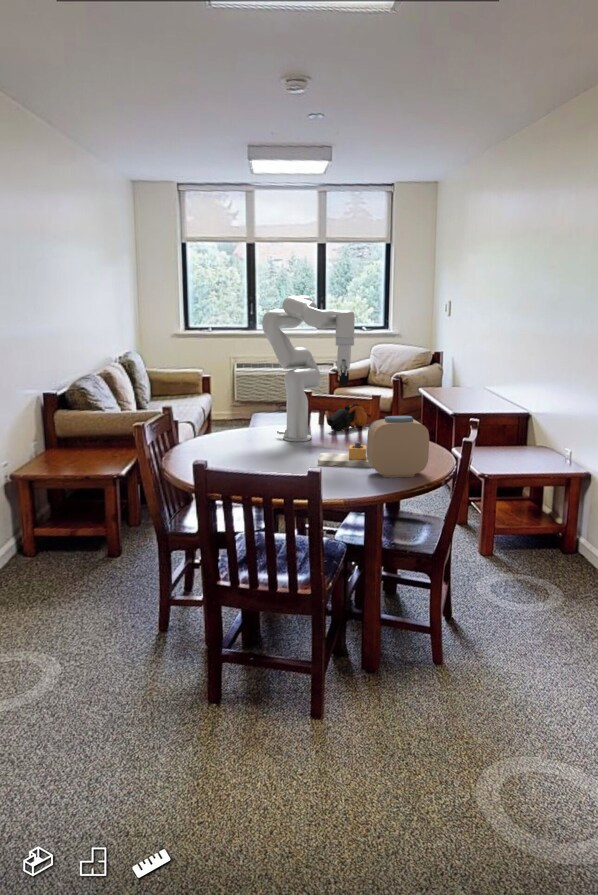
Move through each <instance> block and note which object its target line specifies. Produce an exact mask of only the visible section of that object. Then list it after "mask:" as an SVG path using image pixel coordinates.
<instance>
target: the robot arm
mask: <svg viewBox="0 0 598 895" xmlns="http://www.w3.org/2000/svg"><path fill="white" fill-rule="evenodd" d="M281 305H282V307H281V308H282V309H272V310H268V311H266V312H264V315H263V316H262V324H261V326H262V330H263V333H264V335H265V337H266V339H267V340H268V342H269V344H270V345H271V347H272V350H273V352H274V354H275V356H276V359H277V361H278V363H279V365H280V366H281V368H282V369H284V370H288V371H287V372H286V373H285V375H284V377H283V378H284V379H283V381H284V387H285V396H286V428H284V429H276V430H277V431H276V434H279V435H283V440H284V441H287V442H296V443H297V442H300V443H301V442H307V441H310V440H312V435H310V434H308V433H309V432H308V431H309V430H308V428H309V426H308V424H309V422H308V421H309V415H308V414H309V413H308V412H309V400H308V396H307V394H306V392H305V390H312V389H317V388H318V387H320V386H321V385H322V384H321V383H322V375H321V372H320V369H319V367H318V365H317V363H316V360H315V357H314V356H313V354H312V352H311V351H310V350H309V349H308V348H306V347H296V346H293V344H292V342H291V340H290V338H289V337H288V335H287V334H286V333H285V332H284V331H282V329H294V328H297V327H299V326H300V325H301V324H303V322H304V323H305V324H306V325H308V326H310V327H313V328H316V329H320V330H325V329H327V330H328V329H335V346H337V355H336V356H337V358H336V370H337V371H339V377H338V378H339V381H338V382H339V383H338V384H339V387H340V386H345V387H346V386H348V383H349V381H350V379H349V378H350V373H349V370H350V368H351V361H352V360H351V358H352V346H355V320H356V319H355V318H356V317H355V316H356V315H355V312H354V311H353V310H342V309H318V306H317V304H316V303H315V301H314V300H313V299H312V297H310V296H308V295H291V296H287V297H285V298H284V299H283V301H282V304H281Z"/></svg>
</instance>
